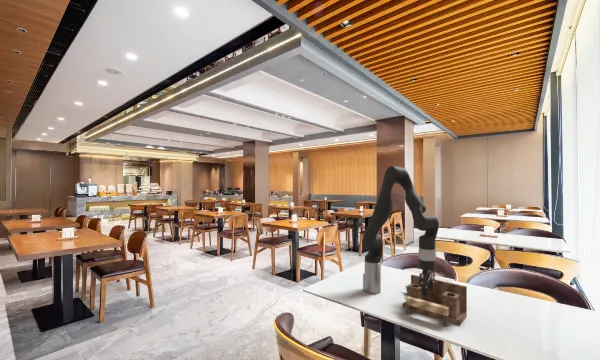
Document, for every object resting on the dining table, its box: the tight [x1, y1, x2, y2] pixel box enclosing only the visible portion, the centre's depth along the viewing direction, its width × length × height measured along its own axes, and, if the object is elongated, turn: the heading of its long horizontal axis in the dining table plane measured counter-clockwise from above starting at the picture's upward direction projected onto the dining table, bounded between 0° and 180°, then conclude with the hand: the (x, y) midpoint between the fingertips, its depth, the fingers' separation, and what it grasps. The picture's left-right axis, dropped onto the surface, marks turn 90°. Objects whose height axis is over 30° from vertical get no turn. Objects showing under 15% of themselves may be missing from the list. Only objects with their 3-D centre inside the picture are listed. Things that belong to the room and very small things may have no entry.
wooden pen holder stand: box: [402, 274, 468, 326], centre depth 138 cm, size 26×12×14 cm, turn 48°
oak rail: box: [405, 296, 450, 327], centre depth 131 cm, size 18×3×8 cm, turn 48°
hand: (427, 293), depth 131 cm, fingers open, 8 cm apart
